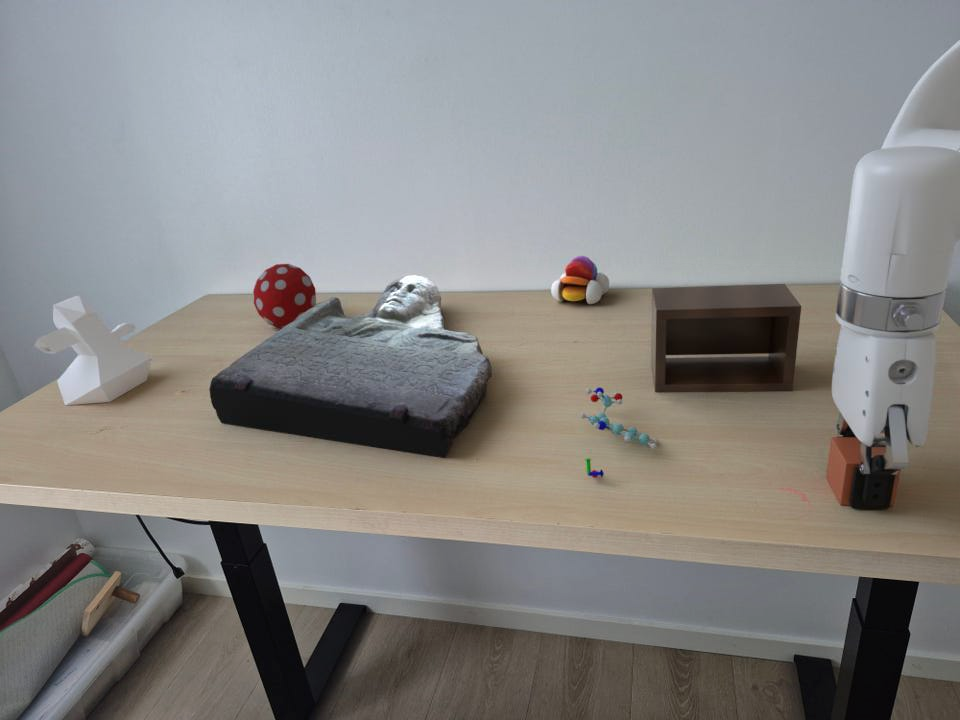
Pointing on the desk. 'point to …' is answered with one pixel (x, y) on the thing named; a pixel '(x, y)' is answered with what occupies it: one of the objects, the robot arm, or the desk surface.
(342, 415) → the bust sculpture
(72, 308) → the white animal head
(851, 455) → the box
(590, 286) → the rainbow toy buggy
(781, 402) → the desk surface
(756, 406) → the desk surface
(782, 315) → the shelf
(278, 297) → the red polka dot ball
